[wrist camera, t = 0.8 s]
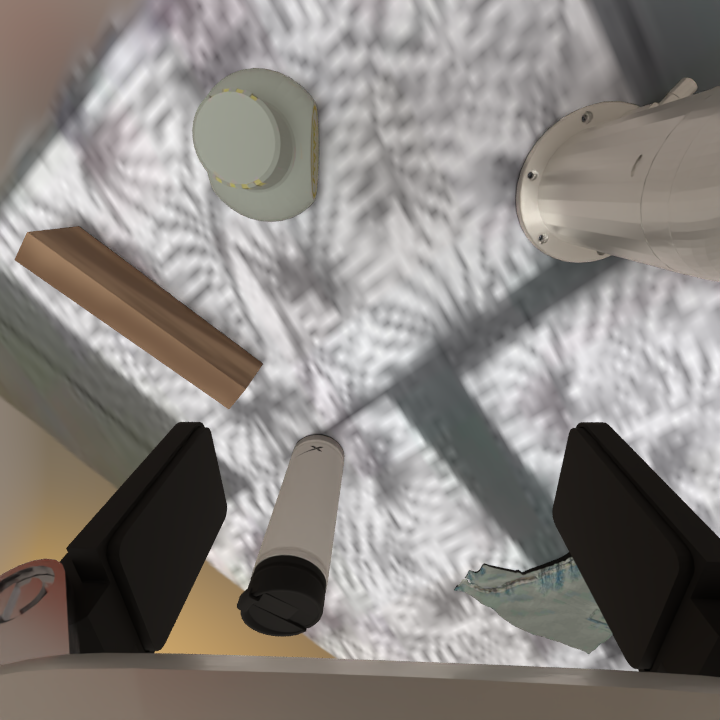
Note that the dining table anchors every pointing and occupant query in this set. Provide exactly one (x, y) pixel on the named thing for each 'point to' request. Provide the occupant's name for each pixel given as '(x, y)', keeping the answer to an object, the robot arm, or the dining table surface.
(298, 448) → the travel mug
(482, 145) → the dining table surface
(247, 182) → the air freshener
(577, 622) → the decorative slab
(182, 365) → the board
